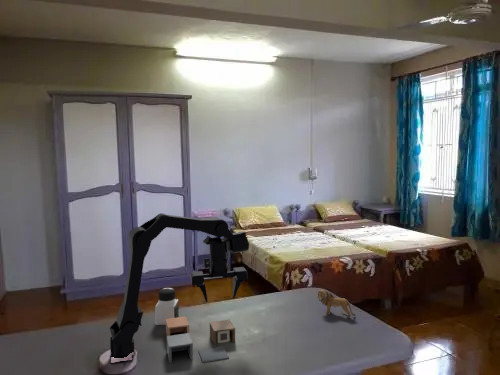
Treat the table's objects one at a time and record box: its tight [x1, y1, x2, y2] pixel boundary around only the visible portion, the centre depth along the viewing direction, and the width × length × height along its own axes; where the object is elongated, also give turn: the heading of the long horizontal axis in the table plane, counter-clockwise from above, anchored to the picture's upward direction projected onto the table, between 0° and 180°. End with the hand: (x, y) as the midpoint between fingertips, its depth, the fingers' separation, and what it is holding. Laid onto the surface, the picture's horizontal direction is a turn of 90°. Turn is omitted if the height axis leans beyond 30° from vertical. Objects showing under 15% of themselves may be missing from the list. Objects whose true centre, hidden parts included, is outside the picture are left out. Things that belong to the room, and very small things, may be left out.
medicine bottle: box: [154, 287, 180, 326], centre depth 146 cm, size 7×7×12 cm
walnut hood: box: [209, 318, 236, 347], centre depth 132 cm, size 7×7×5 cm
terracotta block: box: [165, 316, 190, 337], centre depth 134 cm, size 7×7×5 cm
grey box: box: [166, 332, 194, 364], centre depth 122 cm, size 7×7×5 cm
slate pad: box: [198, 346, 230, 364], centre depth 122 cm, size 8×7×1 cm
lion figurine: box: [316, 289, 356, 319], centre depth 152 cm, size 15×5×9 cm, turn 71°
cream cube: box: [216, 330, 231, 344], centre depth 132 cm, size 4×4×4 cm
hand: (220, 300), depth 134 cm, fingers open, 9 cm apart
